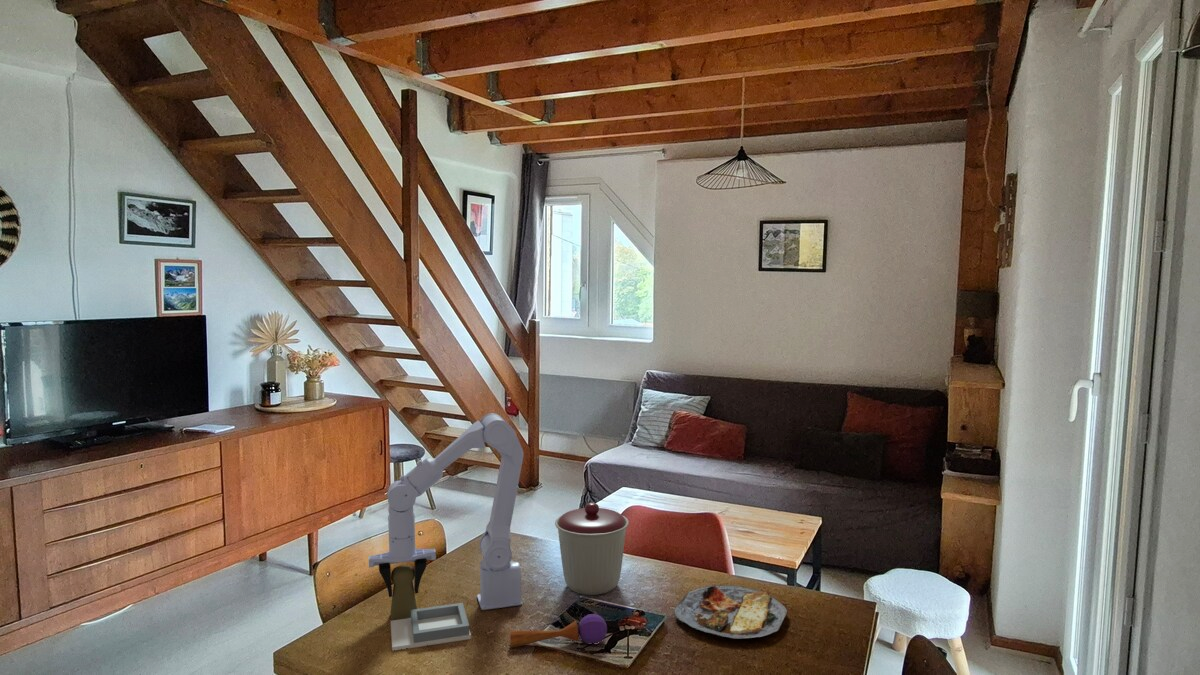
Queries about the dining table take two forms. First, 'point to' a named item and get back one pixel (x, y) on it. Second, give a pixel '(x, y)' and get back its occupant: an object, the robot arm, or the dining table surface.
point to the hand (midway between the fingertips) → (403, 593)
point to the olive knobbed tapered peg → (402, 592)
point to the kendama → (565, 632)
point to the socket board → (430, 627)
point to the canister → (591, 548)
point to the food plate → (717, 604)
